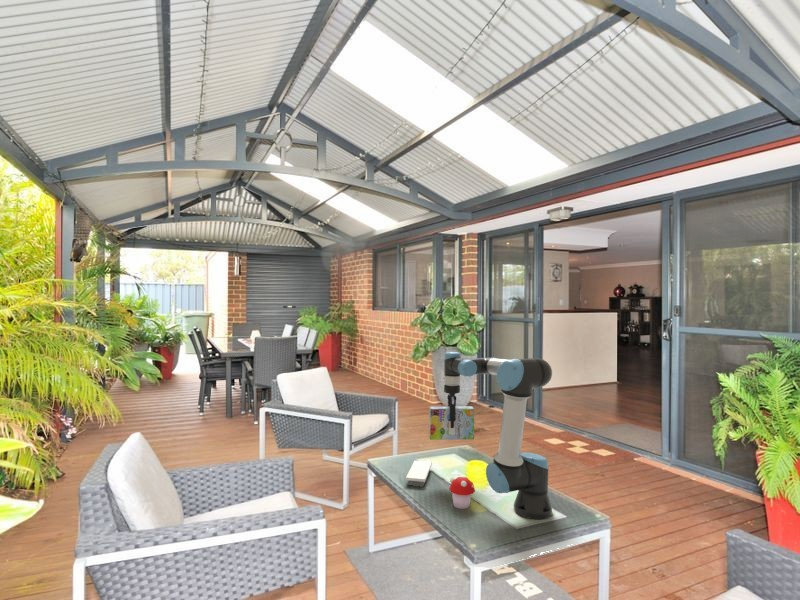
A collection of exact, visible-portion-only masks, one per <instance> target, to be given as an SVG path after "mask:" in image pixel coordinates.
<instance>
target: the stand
mask: <svg viewBox="0 0 800 600" xmlns="http://www.w3.org/2000/svg"><path fill="white" fill-rule="evenodd" d="M432 465H433V462H432V461H425V460H413V463H412V464H411V467H410V468H409V470H408V473H407V475H406V477H405V481H408V483H407V485H413V486H412V487H419V486H420V487H421V488H424V486H425V484H426V482H427V478H428V475H429V472H430V470H431V468H432Z"/></svg>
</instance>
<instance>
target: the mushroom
mask: <svg viewBox="0 0 800 600" xmlns="http://www.w3.org/2000/svg"><path fill="white" fill-rule="evenodd" d="M449 483H450V486H449V491H450V492H451V493H452V496H451V497H452V503H453V507H454V508H457V509H460V510H466V509H468V508H469V507H470V505H471V504H470V503H471V495H473V494H474V493H475V492H476V489H475V485H474V483H473V481H472V480H470V479H469V478H468V477H465V476H457V477H456V478H454V477H450V479H449Z"/></svg>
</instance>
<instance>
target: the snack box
mask: <svg viewBox="0 0 800 600" xmlns="http://www.w3.org/2000/svg"><path fill="white" fill-rule="evenodd" d="M449 419H450V407H448V406H429V408H428V438H429V439H430V441H439V440H440V441H445V440H446V441H447V440H448V441H457V440H458V441H460V440H462V441H463V440H464V441H466V440H467V441H468V440H470V441H471V440H474V441H475V408H474V407H473V406H471V405H470V406H469V405H467V406H461V405H460V406H458V405H456V407H455V419H456V420H455V435H449V421H448V420H449Z"/></svg>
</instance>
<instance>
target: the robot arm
mask: <svg viewBox="0 0 800 600" xmlns="http://www.w3.org/2000/svg"><path fill="white" fill-rule="evenodd" d="M443 361H444V368H443V370H444V376H443V378H442V380H444V385H443V386H444V387H443V391H444V393H445V394H448V395H447V407H450V419H449V420H448V421H449V435H455V420H456V419H455V407H456V406H457V396H456V394H459V393H461V385H460V384H461V376H463V377H473V376H476V375H493V376H496V381H497V385H498V387H499V388H500V390H501V393H502V395H503V396H504V398H503V405H502V406H503V409H502V415H501V417H502V418H501V426H500V434H499V441H498V450H497V452H496V453H495V454H493V461H492V462H490V463H488V464H487V466H486V467H485V477H486V480H487V482H488V484H489V486H490V487H491V489H492V490H493V492H494V493H495V492H496V493H497V494H509V493H511V492H516V491H517V493H516V496H515V500H514V501H513V502H514V503H513V511H514V512H515V513H516V514H517V515H520V516H522V517H523V518H528V519H533V520H544V519H548V518H550V517H552V514H553V507H552V503H551V501H550V498H549V494H548V493H549V492H548V491H549V462H548V461H549V460H548V459H547V458H546V457H545V456H543V455H540V454H536V453H533V452H522V444H523V434H524V426H525V418H526V411H527V404H528V403H527V402H528V399H530V398H531V397H532V395H533V389H538V388H542V387H545V386H546V385H548V384H549V382H550V381H551V380H552V377H553V369H552V366H551V365H550V364H549V363H548V361H546V360H545V359H543V358H538V357H532V358H512V359H505V358H497V357H491V356H490V357H489V356H488V357H479V358H478V357H474V358H472V357H471V358H461V353H460V352H459V351H458V352H457V351H447V352H445V353H444V360H443Z"/></svg>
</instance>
